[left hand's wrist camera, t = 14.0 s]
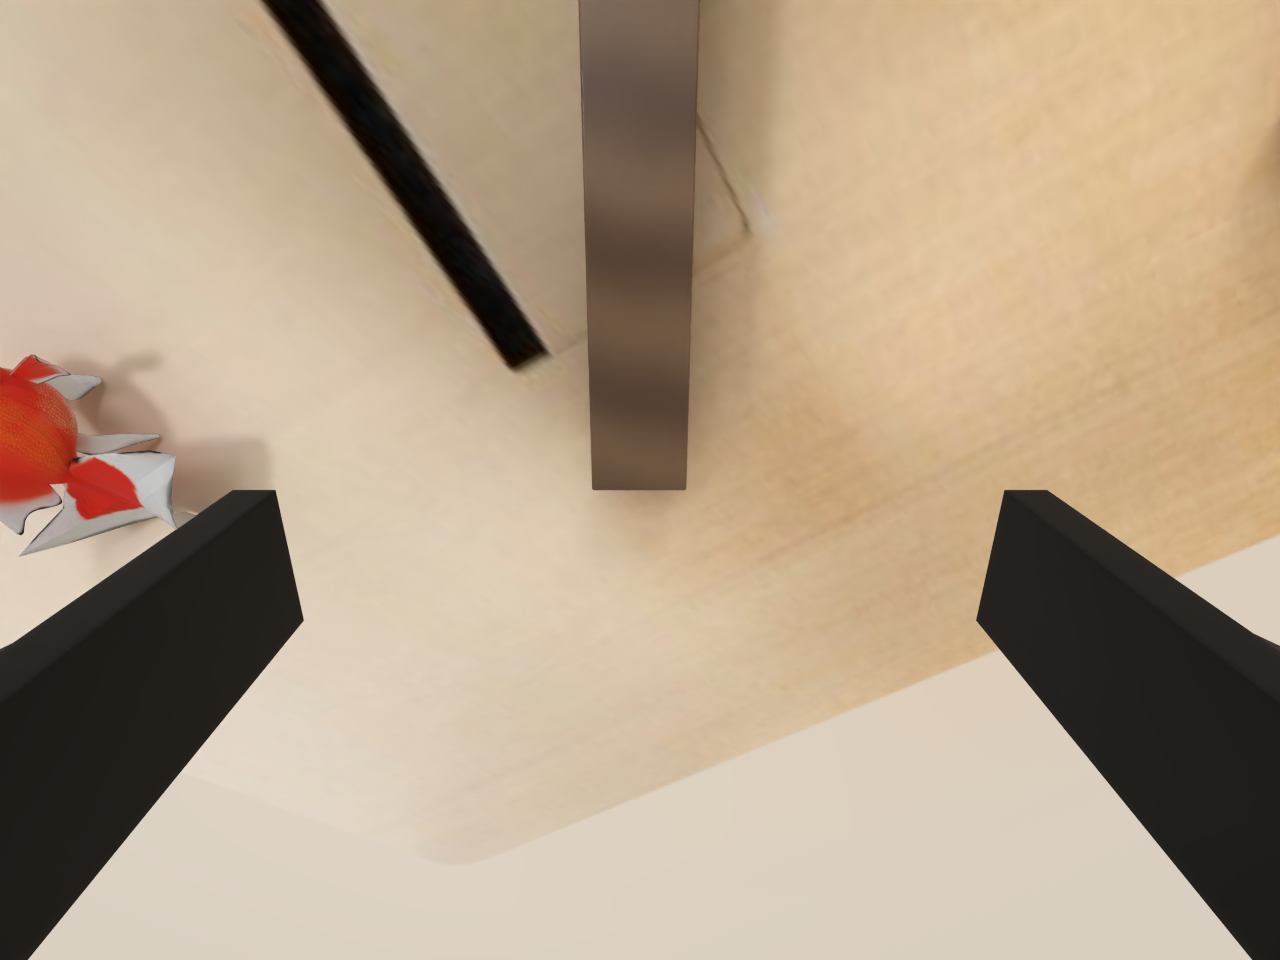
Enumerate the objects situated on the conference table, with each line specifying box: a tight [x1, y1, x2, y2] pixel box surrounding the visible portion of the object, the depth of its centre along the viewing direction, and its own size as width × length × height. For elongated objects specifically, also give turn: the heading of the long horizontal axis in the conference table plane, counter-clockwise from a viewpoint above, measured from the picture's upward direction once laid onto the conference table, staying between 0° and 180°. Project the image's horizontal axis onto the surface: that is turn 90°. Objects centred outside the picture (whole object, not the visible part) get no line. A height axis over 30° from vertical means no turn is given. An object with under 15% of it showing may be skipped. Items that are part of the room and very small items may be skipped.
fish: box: [0, 355, 196, 557], centre depth 37 cm, size 11×16×10 cm
